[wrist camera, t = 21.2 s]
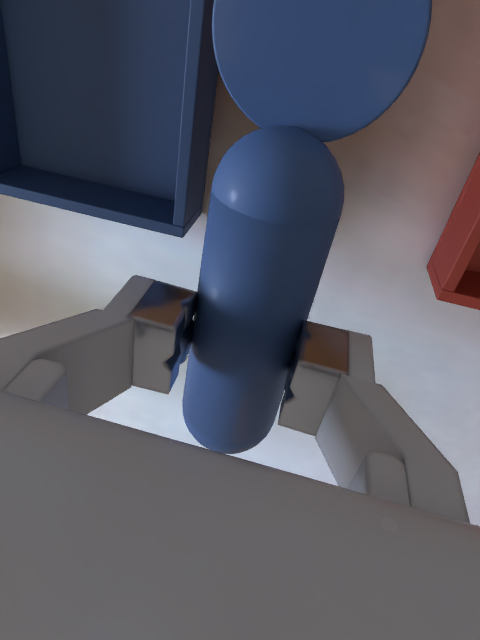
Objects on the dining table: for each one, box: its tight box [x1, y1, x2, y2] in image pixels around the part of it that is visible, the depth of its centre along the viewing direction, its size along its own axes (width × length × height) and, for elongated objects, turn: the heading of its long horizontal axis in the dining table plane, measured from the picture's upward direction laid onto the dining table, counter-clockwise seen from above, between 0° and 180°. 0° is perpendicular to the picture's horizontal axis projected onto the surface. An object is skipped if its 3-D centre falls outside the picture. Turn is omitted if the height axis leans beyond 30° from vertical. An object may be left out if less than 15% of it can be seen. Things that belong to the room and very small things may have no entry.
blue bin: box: [0, 0, 218, 238], centre depth 20 cm, size 14×11×4 cm
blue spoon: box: [183, 0, 432, 454], centre depth 10 cm, size 4×12×3 cm, turn 170°
